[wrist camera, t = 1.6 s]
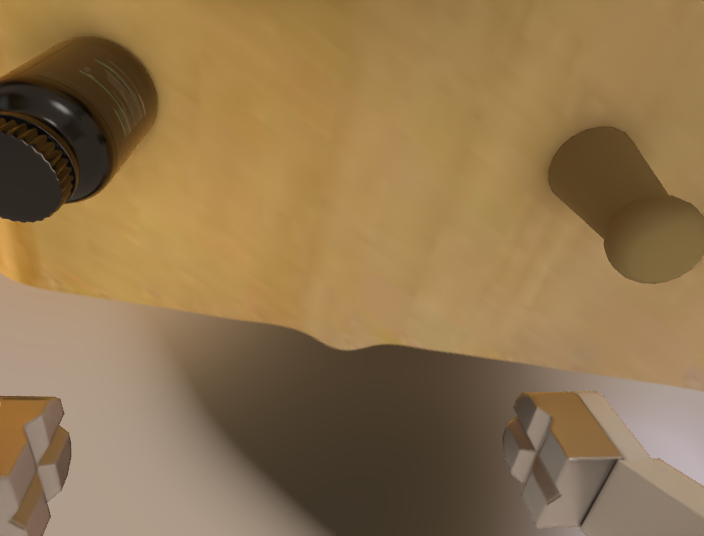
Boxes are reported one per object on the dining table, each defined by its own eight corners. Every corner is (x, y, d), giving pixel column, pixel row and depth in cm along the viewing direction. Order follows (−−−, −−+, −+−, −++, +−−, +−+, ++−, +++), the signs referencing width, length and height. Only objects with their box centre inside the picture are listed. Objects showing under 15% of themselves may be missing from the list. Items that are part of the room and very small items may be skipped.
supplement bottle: (85, 150, 35) (-12, 252, 25) (25, 49, 31) (-118, 125, 21) (177, 129, 34) (112, 226, 24) (127, 21, 30) (27, 87, 20)
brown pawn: (530, 180, 37) (589, 273, 28) (594, 110, 34) (682, 191, 25) (588, 216, 39) (660, 314, 30) (653, 153, 36) (754, 242, 27)
